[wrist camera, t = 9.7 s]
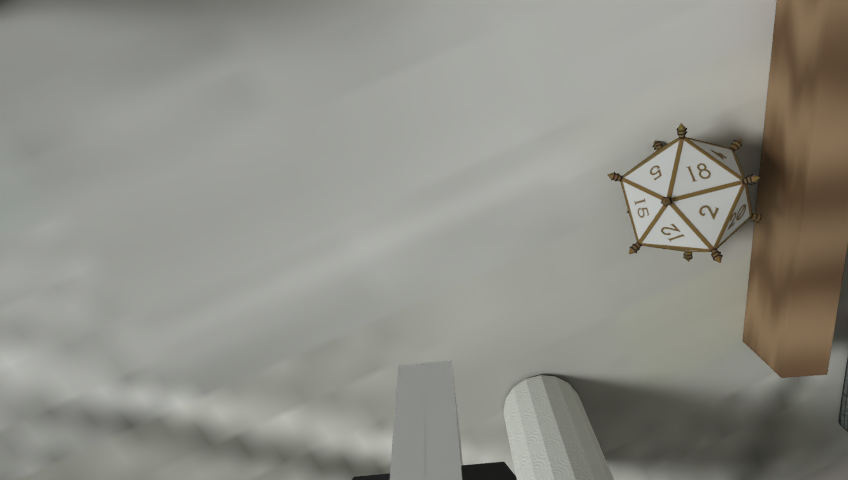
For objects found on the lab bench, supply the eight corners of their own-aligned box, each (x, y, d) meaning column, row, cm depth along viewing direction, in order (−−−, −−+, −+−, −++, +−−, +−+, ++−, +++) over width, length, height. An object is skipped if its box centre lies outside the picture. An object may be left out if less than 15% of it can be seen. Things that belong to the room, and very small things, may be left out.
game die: (654, 146, 42) (786, 96, 33) (685, 256, 41) (827, 235, 33) (563, 163, 38) (684, 112, 29) (595, 285, 38) (729, 270, 29)
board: (780, -38, 34) (836, -51, 30) (831, -43, 34) (895, -57, 30) (742, 341, 43) (781, 377, 38) (783, 337, 43) (827, 374, 38)
